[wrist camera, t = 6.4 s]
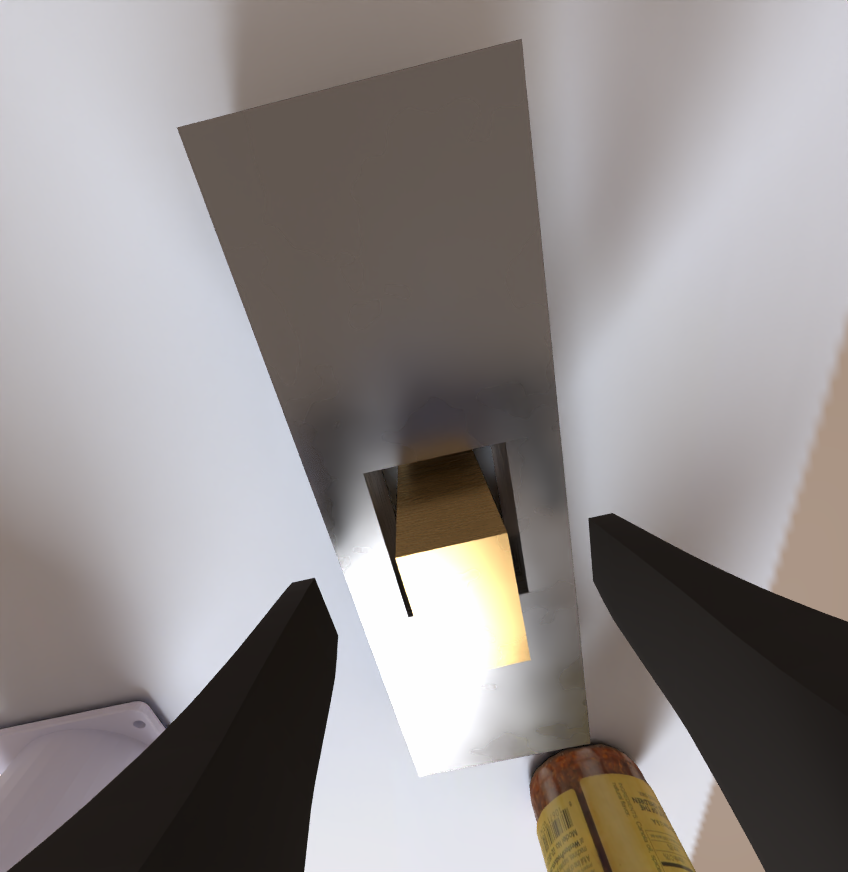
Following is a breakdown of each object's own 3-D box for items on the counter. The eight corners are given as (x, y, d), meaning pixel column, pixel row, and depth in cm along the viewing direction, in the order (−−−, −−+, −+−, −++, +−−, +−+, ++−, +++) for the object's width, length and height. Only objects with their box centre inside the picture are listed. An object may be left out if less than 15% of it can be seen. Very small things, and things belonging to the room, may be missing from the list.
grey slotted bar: (561, 673, 18) (590, 743, 16) (416, 702, 19) (419, 776, 16) (489, 105, 10) (521, 39, 8) (237, 169, 11) (176, 127, 8)
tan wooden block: (483, 521, 15) (530, 660, 9) (423, 534, 15) (434, 680, 10) (464, 432, 14) (507, 533, 8) (398, 447, 14) (395, 558, 8)
